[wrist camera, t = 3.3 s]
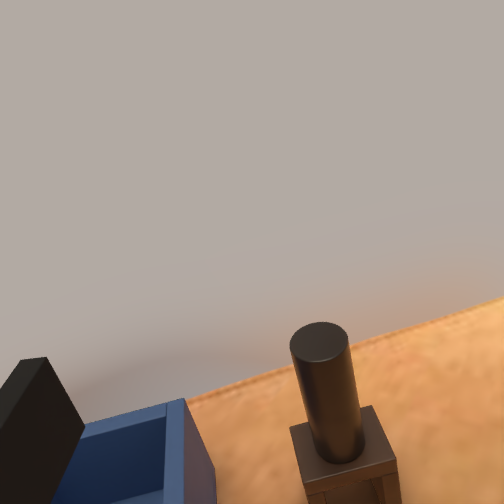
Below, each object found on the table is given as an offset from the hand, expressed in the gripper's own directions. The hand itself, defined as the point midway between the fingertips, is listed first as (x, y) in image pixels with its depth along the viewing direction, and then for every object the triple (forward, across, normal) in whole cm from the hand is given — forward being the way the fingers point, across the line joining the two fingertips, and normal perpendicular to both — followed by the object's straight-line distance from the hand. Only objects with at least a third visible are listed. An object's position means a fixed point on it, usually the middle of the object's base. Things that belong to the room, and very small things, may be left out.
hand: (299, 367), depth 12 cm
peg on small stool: (+10, 0, -22) cm, 24 cm away
